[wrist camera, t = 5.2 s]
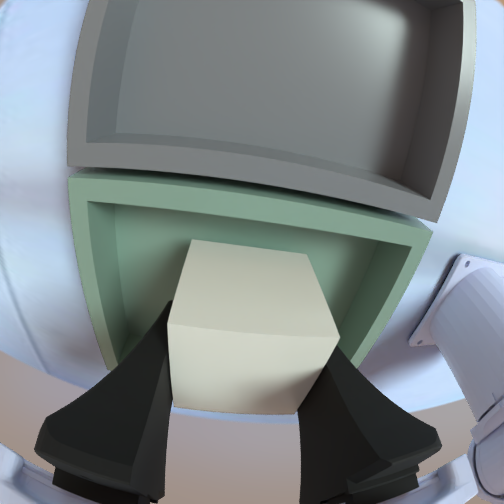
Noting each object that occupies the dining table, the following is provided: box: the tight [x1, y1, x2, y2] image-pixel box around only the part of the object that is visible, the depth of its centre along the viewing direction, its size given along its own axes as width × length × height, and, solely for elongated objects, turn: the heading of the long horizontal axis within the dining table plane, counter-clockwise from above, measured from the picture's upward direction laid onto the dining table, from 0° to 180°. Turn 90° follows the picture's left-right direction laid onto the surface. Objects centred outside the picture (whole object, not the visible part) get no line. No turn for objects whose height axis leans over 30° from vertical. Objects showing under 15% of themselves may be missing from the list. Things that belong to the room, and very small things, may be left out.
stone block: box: [167, 239, 340, 415], centre depth 10 cm, size 5×5×5 cm
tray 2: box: [68, 167, 433, 371], centre depth 12 cm, size 14×11×3 cm
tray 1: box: [67, 0, 476, 223], centre depth 7 cm, size 14×11×3 cm
